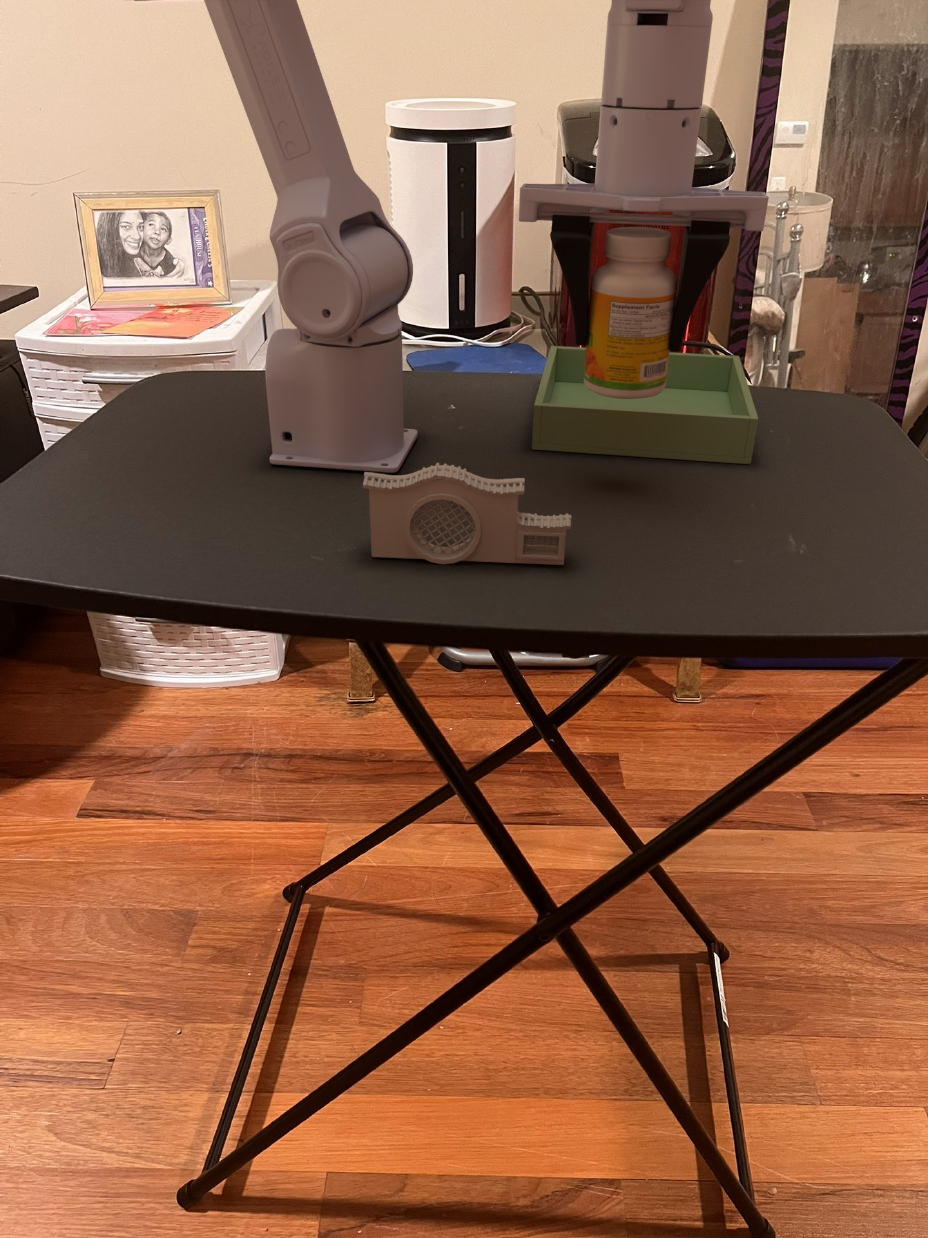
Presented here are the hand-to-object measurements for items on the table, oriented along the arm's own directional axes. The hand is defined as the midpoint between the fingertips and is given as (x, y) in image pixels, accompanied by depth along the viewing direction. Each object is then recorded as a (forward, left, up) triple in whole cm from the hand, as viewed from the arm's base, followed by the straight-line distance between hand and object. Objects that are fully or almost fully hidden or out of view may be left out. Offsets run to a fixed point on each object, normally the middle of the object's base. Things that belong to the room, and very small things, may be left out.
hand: (626, 344), depth 63 cm
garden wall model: (-8, -13, -10) cm, 18 cm away
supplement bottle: (0, 0, -3) cm, 3 cm away
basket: (+2, +14, -10) cm, 17 cm away
